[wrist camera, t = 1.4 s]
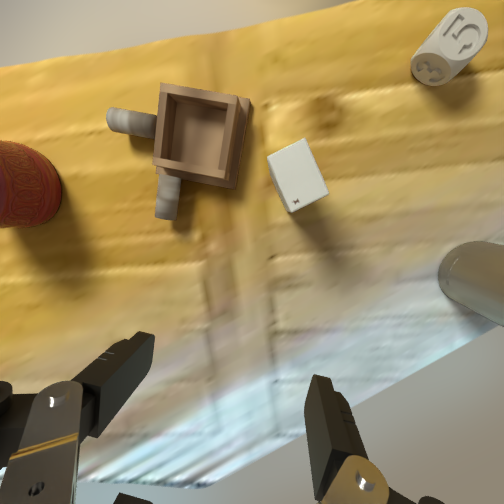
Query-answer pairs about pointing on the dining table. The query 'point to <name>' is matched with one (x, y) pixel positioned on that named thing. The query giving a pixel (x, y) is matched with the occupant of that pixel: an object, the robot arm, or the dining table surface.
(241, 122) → the block
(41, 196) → the canister
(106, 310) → the dining table surface
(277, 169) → the skincare box
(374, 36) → the dining table surface
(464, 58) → the die
